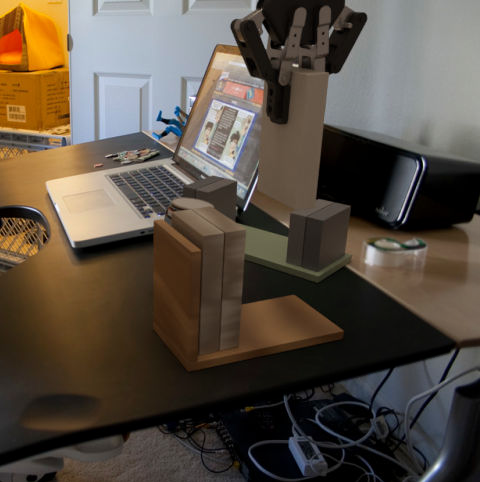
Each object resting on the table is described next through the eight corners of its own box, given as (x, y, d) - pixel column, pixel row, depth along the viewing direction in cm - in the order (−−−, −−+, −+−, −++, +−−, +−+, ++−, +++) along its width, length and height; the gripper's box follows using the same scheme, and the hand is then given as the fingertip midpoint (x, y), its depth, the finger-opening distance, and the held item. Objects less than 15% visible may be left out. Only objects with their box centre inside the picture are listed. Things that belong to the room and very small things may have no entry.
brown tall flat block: (274, 187, 69) (284, 64, 64) (315, 208, 62) (329, 72, 57) (256, 190, 68) (264, 65, 63) (295, 211, 62) (308, 74, 57)
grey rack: (351, 261, 85) (359, 205, 82) (317, 283, 80) (324, 223, 77) (211, 221, 101) (213, 173, 98) (174, 237, 96) (175, 186, 93)
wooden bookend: (293, 301, 75) (304, 189, 70) (343, 339, 67) (359, 215, 62) (152, 329, 71) (153, 211, 66) (188, 372, 63) (191, 241, 58)
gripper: (347, -73, 61) (327, 108, 67) (216, -70, 57) (209, 121, 64) (404, -81, 54) (377, 122, 61) (260, -77, 51) (247, 136, 57)
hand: (290, 120), depth 62 cm, fingers closed on brown tall flat block, 2 cm apart
